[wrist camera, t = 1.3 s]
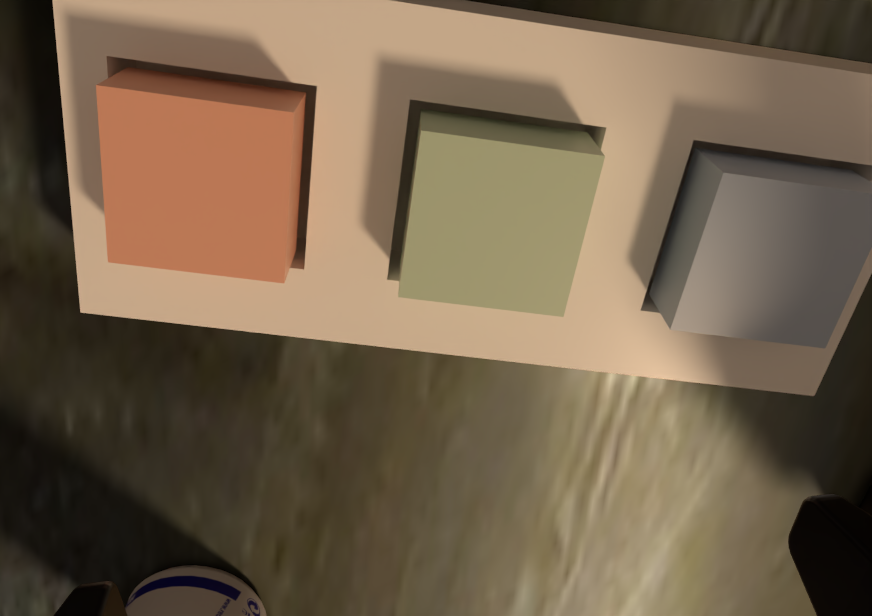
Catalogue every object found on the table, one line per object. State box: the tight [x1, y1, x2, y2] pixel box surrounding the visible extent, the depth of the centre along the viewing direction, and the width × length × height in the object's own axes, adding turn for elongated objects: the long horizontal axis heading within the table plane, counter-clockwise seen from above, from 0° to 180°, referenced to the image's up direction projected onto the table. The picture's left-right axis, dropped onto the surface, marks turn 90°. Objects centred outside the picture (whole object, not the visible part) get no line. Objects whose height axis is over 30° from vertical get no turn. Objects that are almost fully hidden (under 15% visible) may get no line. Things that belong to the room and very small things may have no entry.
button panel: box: [52, 0, 872, 396], centre depth 20 cm, size 21×9×2 cm, turn 82°
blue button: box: [649, 148, 872, 348], centre depth 19 cm, size 4×4×2 cm
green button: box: [398, 109, 605, 317], centre depth 19 cm, size 4×4×2 cm
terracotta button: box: [96, 67, 306, 283], centre depth 18 cm, size 4×4×2 cm
